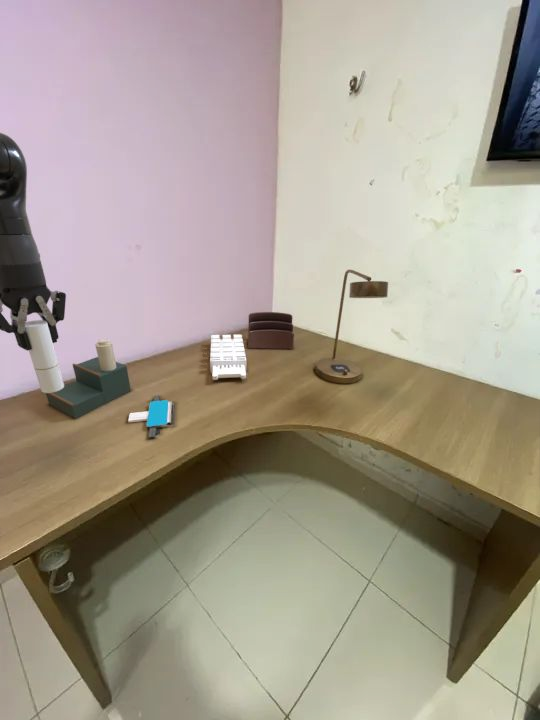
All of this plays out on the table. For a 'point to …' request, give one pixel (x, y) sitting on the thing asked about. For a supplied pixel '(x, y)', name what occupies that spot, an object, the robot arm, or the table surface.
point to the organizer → (227, 357)
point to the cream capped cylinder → (105, 355)
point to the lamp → (334, 366)
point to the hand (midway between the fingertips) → (40, 345)
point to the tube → (44, 356)
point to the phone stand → (156, 416)
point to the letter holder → (270, 330)
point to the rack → (90, 388)
